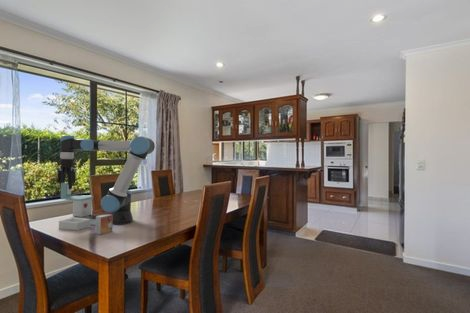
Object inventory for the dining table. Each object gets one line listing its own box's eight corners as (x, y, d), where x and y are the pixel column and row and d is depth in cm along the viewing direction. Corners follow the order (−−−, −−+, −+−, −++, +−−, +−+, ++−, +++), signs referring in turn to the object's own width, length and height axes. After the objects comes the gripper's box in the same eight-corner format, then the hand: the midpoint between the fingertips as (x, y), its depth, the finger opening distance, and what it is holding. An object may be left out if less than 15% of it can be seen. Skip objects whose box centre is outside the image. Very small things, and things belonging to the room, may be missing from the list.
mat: (107, 221, 176) (107, 220, 176) (94, 225, 164) (94, 224, 164) (88, 219, 179) (89, 218, 179) (75, 223, 168) (75, 222, 168)
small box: (99, 234, 146) (100, 217, 146) (94, 233, 149) (95, 215, 149) (112, 231, 153) (113, 214, 153) (107, 229, 156) (108, 213, 156)
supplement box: (82, 217, 185) (82, 197, 185) (72, 216, 187) (73, 196, 187) (91, 214, 194) (92, 195, 194) (82, 213, 196) (82, 195, 196)
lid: (93, 198, 163) (93, 183, 163) (80, 201, 153) (80, 184, 153) (70, 197, 167) (70, 181, 167) (55, 199, 156) (56, 183, 157)
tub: (89, 226, 161) (90, 219, 161) (77, 230, 152) (77, 222, 152) (72, 224, 164) (72, 217, 165) (58, 228, 155) (59, 221, 155)
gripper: (82, 158, 163) (81, 193, 163) (61, 158, 167) (60, 192, 167) (72, 158, 156) (71, 195, 156) (51, 158, 159) (50, 193, 159)
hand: (65, 193), depth 161 cm, fingers closed on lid, 4 cm apart
